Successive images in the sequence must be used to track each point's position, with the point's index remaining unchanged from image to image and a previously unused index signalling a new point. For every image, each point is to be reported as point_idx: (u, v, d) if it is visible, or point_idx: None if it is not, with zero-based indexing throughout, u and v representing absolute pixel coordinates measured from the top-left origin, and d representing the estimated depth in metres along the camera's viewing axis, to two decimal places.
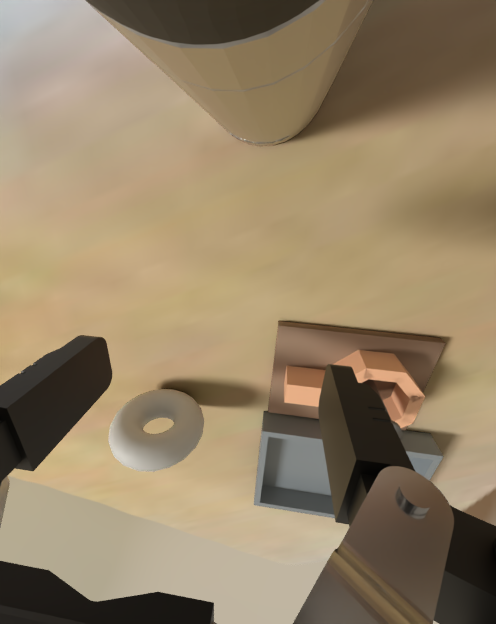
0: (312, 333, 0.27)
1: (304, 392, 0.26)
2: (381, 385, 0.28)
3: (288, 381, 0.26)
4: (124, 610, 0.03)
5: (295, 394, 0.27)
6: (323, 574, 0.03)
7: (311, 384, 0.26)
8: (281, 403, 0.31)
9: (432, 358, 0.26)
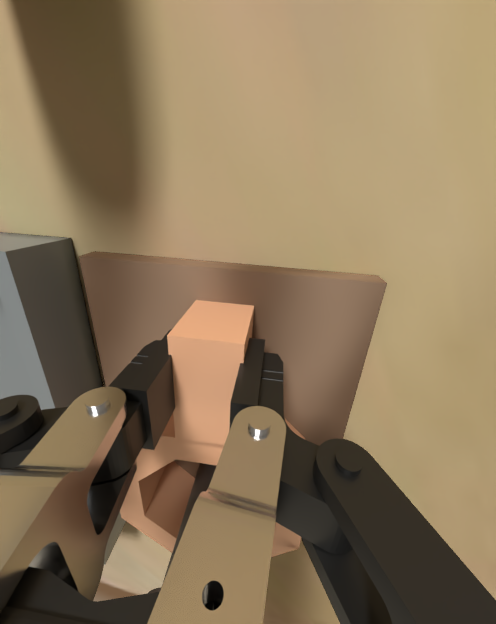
0: (352, 360, 0.11)
1: (218, 388, 0.09)
2: None
3: (246, 340, 0.08)
4: (124, 610, 0.03)
5: (205, 366, 0.08)
6: (192, 515, 0.04)
7: None
8: (121, 294, 0.11)
9: None
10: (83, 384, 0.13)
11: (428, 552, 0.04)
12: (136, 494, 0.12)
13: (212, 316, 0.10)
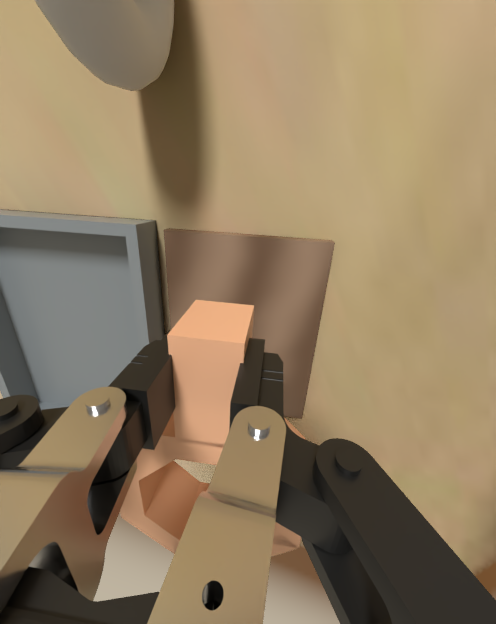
0: (318, 290, 0.20)
1: (218, 388, 0.09)
2: None
3: (246, 340, 0.08)
4: (124, 610, 0.03)
5: (205, 365, 0.08)
6: (192, 515, 0.04)
7: None
8: (186, 252, 0.19)
9: None
10: (156, 312, 0.21)
11: (427, 551, 0.04)
12: (136, 494, 0.12)
13: (212, 316, 0.10)
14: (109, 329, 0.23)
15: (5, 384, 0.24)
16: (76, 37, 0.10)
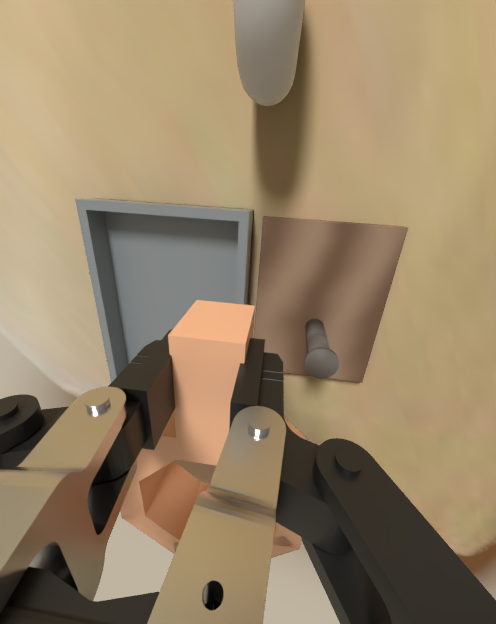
0: (389, 268, 0.23)
1: (219, 388, 0.09)
2: None
3: (247, 340, 0.08)
4: (124, 610, 0.03)
5: (206, 366, 0.08)
6: (191, 515, 0.04)
7: None
8: (279, 236, 0.24)
9: (345, 376, 0.28)
10: (247, 287, 0.26)
11: (427, 551, 0.04)
12: (136, 494, 0.12)
13: (213, 316, 0.10)
14: None
15: (111, 348, 0.29)
16: (261, 72, 0.14)
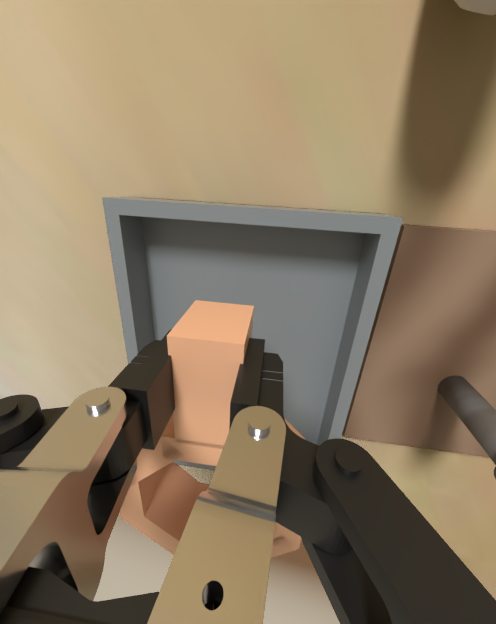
0: None
1: (218, 388, 0.09)
2: (444, 405, 0.19)
3: (246, 341, 0.08)
4: (124, 610, 0.03)
5: (205, 366, 0.08)
6: (192, 515, 0.04)
7: None
8: (426, 255, 0.15)
9: (484, 451, 0.20)
10: None
11: (428, 552, 0.04)
12: (135, 495, 0.12)
13: (212, 316, 0.10)
14: (280, 349, 0.19)
15: None
16: None
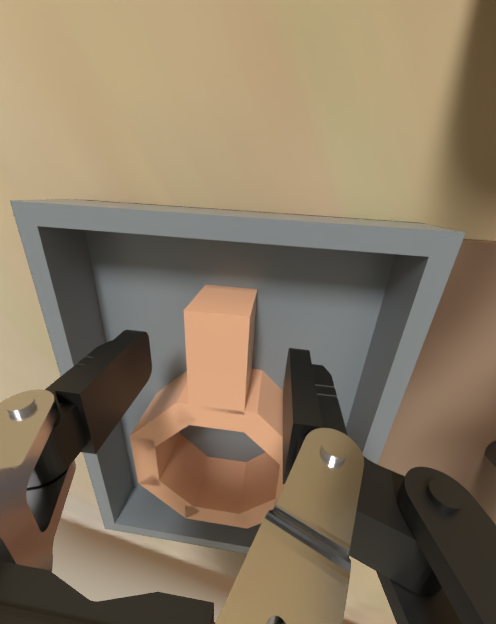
0: None
1: (227, 357, 0.10)
2: (492, 471, 0.14)
3: (251, 315, 0.10)
4: (125, 610, 0.03)
5: (216, 337, 0.10)
6: (259, 534, 0.04)
7: (248, 365, 0.11)
8: (484, 283, 0.10)
9: None
10: None
11: None
12: (152, 459, 0.13)
13: (221, 296, 0.11)
14: None
15: (103, 480, 0.15)
16: None
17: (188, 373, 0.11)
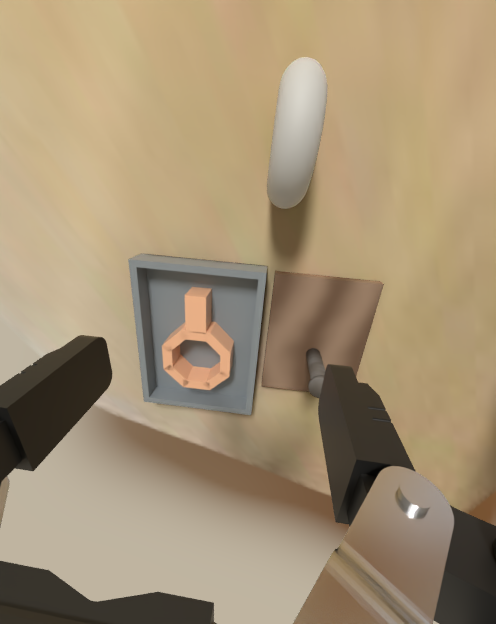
0: (370, 312, 0.31)
1: (199, 311, 0.30)
2: None
3: (207, 297, 0.30)
4: (124, 610, 0.03)
5: (195, 304, 0.30)
6: (323, 574, 0.03)
7: (206, 315, 0.31)
8: (287, 287, 0.30)
9: None
10: None
11: None
12: (170, 356, 0.33)
13: (197, 291, 0.31)
14: None
15: (146, 372, 0.35)
16: (284, 200, 0.21)
17: (185, 318, 0.30)
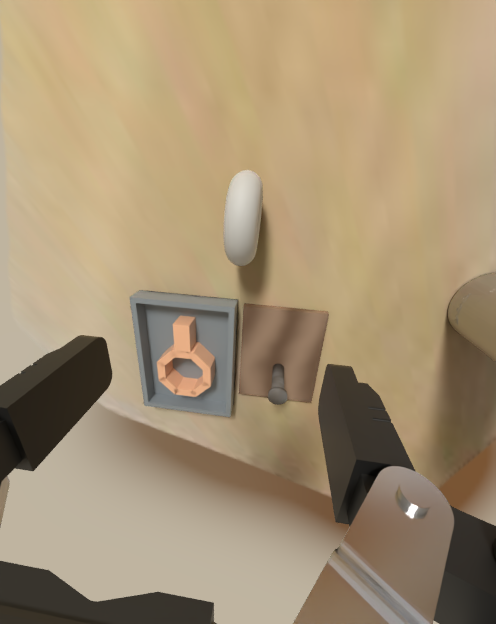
0: (321, 335, 0.39)
1: (184, 336, 0.38)
2: None
3: (190, 325, 0.38)
4: (125, 610, 0.03)
5: (181, 331, 0.38)
6: (323, 574, 0.03)
7: (190, 339, 0.39)
8: (254, 316, 0.39)
9: (300, 398, 0.44)
10: (234, 344, 0.41)
11: None
12: (163, 370, 0.41)
13: (183, 320, 0.39)
14: None
15: (145, 382, 0.43)
16: (237, 263, 0.29)
17: (174, 341, 0.39)
